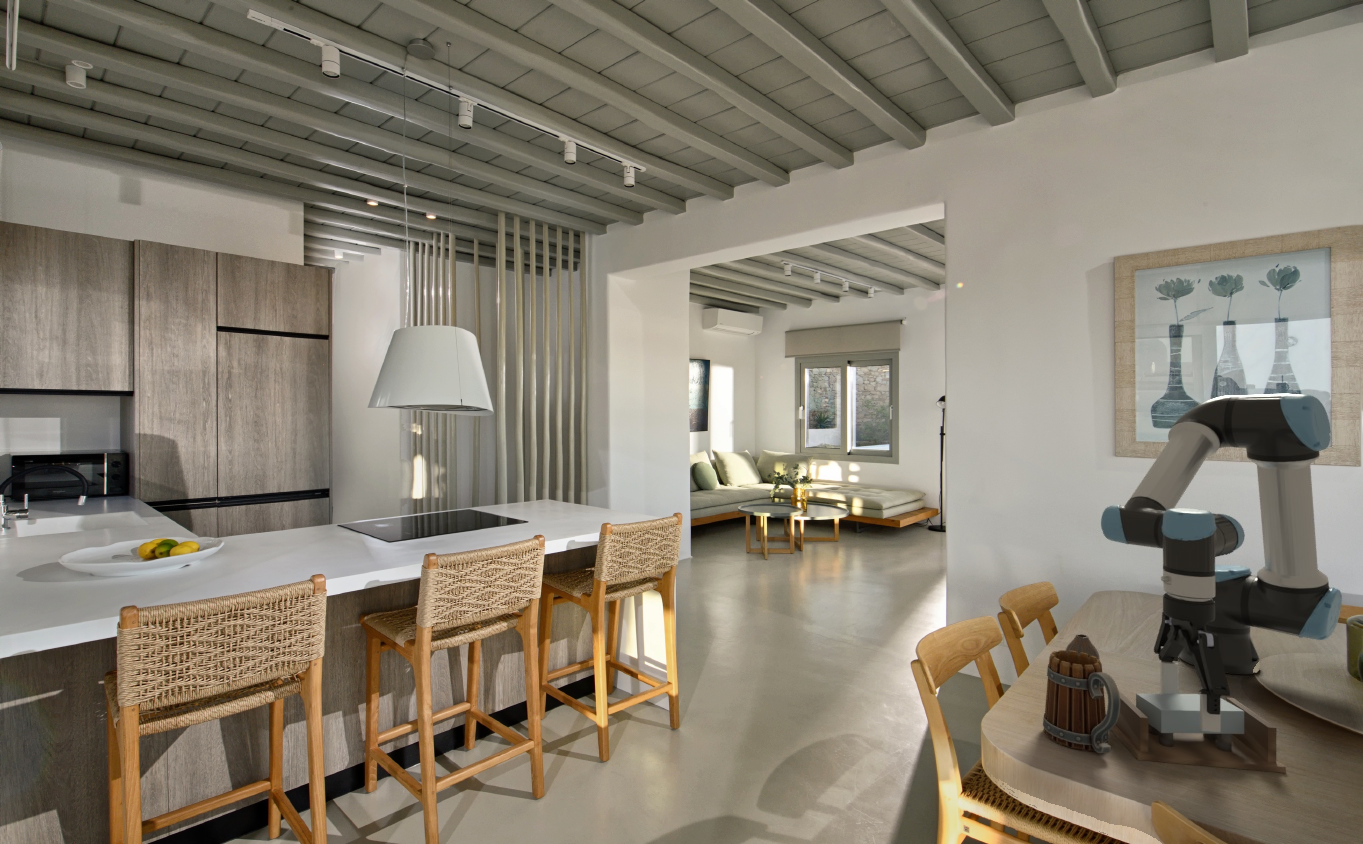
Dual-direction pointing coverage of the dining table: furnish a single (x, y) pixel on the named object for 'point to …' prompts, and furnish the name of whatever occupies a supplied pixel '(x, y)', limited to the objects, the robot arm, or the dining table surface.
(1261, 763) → the peg frame
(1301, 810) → the dining table surface
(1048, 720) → the mug
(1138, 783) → the dining table surface
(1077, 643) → the vase
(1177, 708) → the board
